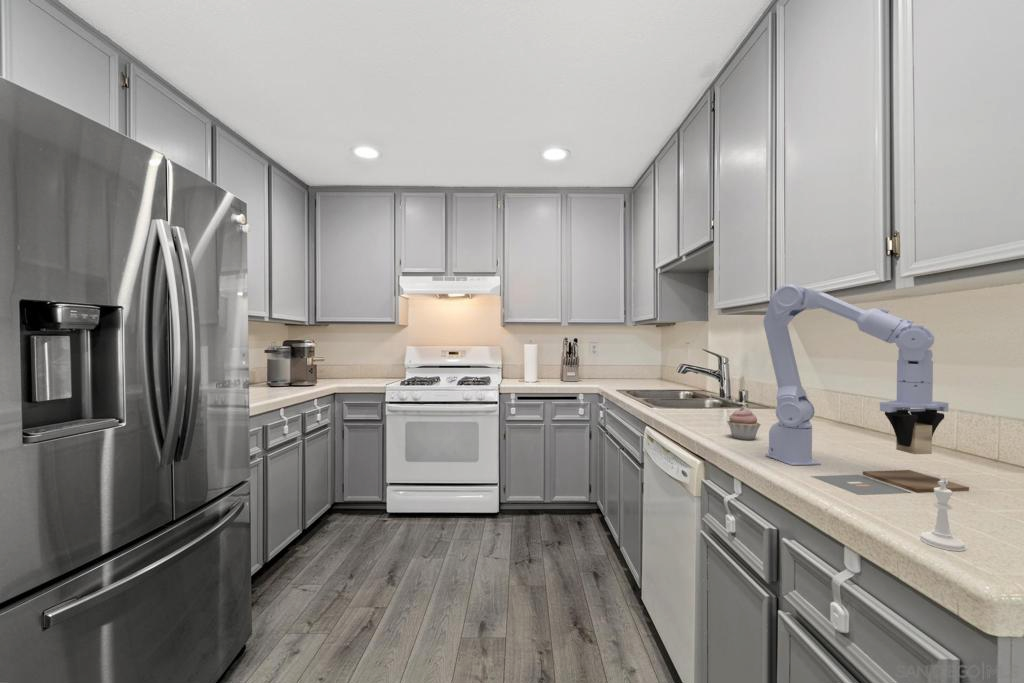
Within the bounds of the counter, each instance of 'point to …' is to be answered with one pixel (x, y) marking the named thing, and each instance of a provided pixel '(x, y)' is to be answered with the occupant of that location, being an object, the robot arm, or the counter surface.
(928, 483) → the board
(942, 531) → the chess piece
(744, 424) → the cupcake
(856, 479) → the tile
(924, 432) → the maple block
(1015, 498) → the counter surface
